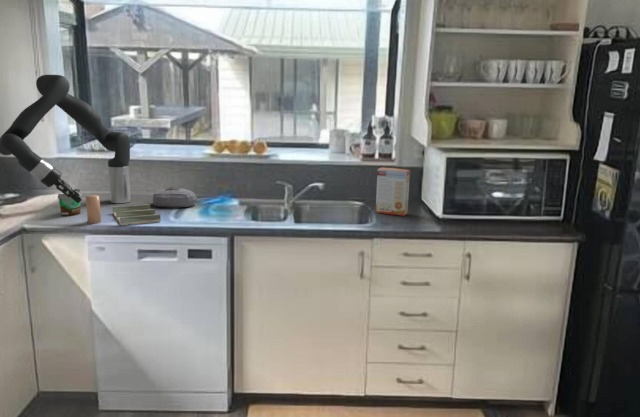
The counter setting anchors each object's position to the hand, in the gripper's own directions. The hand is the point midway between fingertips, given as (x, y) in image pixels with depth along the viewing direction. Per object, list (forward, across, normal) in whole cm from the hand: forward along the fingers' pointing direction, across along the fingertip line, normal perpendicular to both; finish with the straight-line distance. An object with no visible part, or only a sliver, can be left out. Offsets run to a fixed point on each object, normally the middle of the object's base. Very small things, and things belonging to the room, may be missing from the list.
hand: (79, 199), depth 231 cm
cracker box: (+100, -34, -85) cm, 136 cm away
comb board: (+23, +1, -8) cm, 24 cm away
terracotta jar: (+11, 0, +4) cm, 11 cm away
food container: (+7, +17, +8) cm, 20 cm away
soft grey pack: (+38, +19, -23) cm, 49 cm away
